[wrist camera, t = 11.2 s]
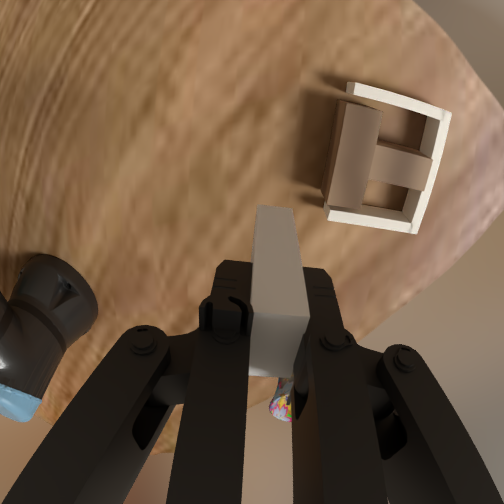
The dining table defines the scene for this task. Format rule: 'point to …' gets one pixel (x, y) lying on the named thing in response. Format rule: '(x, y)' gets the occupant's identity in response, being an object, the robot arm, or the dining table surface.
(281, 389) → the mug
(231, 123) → the dining table surface
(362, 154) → the t block
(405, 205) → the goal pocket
